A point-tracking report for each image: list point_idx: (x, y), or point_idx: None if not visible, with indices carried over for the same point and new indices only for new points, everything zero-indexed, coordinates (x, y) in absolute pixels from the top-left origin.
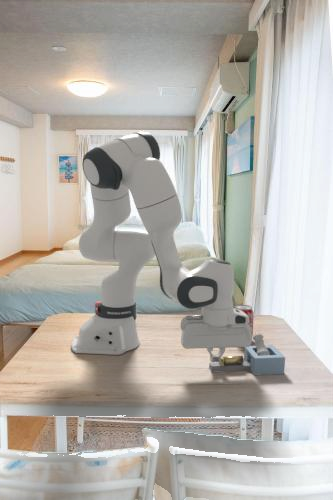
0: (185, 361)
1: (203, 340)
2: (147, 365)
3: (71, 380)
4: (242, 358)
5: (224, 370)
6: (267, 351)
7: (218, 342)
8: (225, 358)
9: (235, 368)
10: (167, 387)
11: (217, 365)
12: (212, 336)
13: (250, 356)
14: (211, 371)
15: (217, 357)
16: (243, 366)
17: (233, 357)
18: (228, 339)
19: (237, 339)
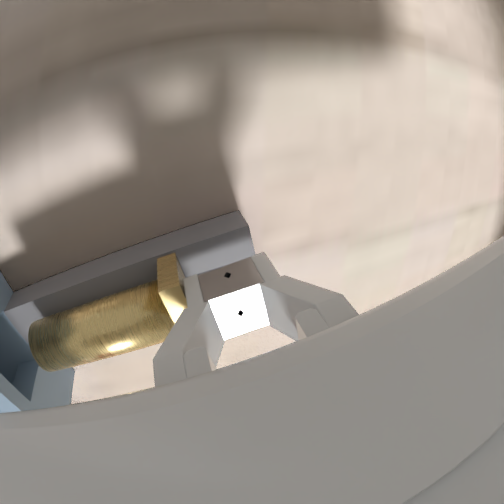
0: (364, 296)
1: (491, 341)
2: (479, 220)
3: None
4: (33, 343)
5: (150, 243)
6: None
7: (277, 424)
8: (148, 315)
9: (79, 274)
10: (447, 28)
11: (205, 261)
12: (430, 461)
13: (22, 382)
14: (239, 212)
15: (221, 291)
16: (34, 297)
17: (89, 340)
18: (122, 501)
19: (21, 492)
